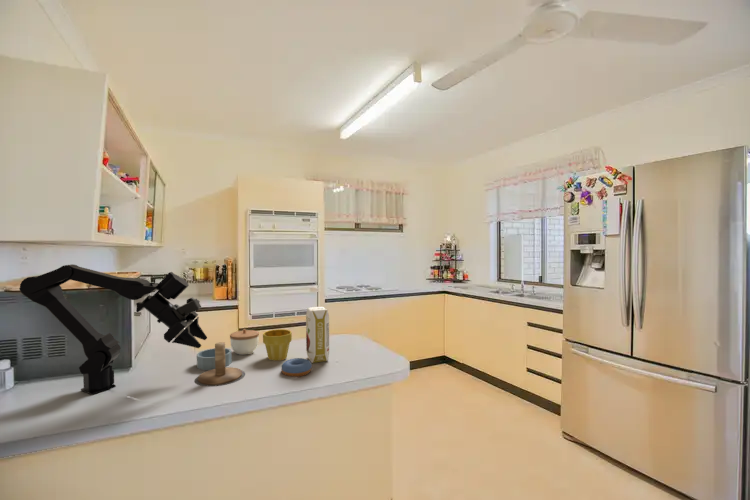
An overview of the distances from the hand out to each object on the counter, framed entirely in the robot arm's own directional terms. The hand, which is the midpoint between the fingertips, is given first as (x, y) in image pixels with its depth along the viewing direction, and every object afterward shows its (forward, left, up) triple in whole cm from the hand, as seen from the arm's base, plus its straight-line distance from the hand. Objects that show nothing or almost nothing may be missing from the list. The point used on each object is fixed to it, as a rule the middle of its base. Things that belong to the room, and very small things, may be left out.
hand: (203, 342), depth 116 cm
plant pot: (+27, -6, -12) cm, 30 cm away
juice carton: (+33, -20, -12) cm, 40 cm away
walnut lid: (+3, -4, -11) cm, 12 cm away
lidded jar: (+26, +10, -12) cm, 30 cm away
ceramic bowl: (+11, +8, -12) cm, 18 cm away
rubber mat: (+3, -4, -12) cm, 13 cm away
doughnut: (+19, -22, -12) cm, 31 cm away
